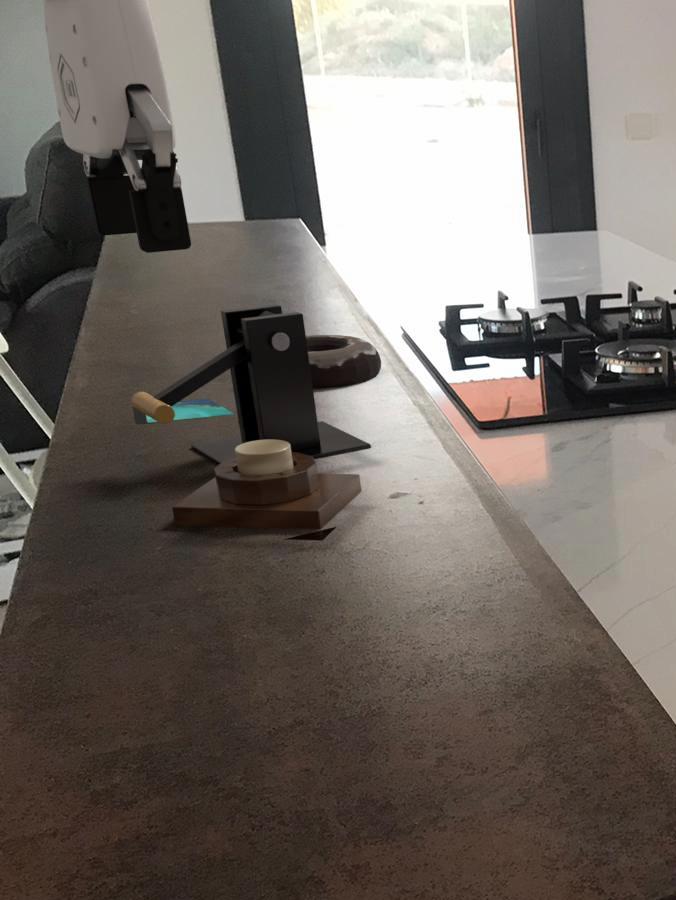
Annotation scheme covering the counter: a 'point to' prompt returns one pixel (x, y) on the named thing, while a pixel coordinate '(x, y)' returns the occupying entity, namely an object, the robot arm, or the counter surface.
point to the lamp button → (263, 457)
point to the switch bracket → (275, 388)
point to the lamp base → (270, 499)
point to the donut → (341, 360)
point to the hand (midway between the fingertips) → (143, 241)
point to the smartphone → (187, 411)
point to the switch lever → (190, 382)
